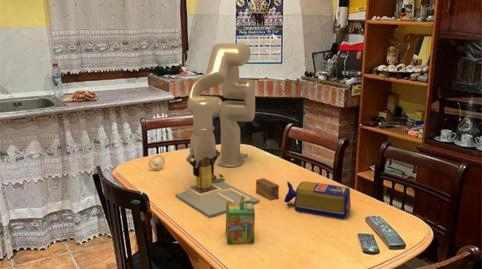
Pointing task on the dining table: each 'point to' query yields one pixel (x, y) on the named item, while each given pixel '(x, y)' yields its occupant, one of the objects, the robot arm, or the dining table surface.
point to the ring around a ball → (156, 162)
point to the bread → (320, 199)
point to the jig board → (213, 198)
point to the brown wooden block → (267, 189)
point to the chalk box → (240, 222)
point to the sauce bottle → (204, 175)
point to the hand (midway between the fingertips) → (203, 173)
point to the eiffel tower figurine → (215, 180)
